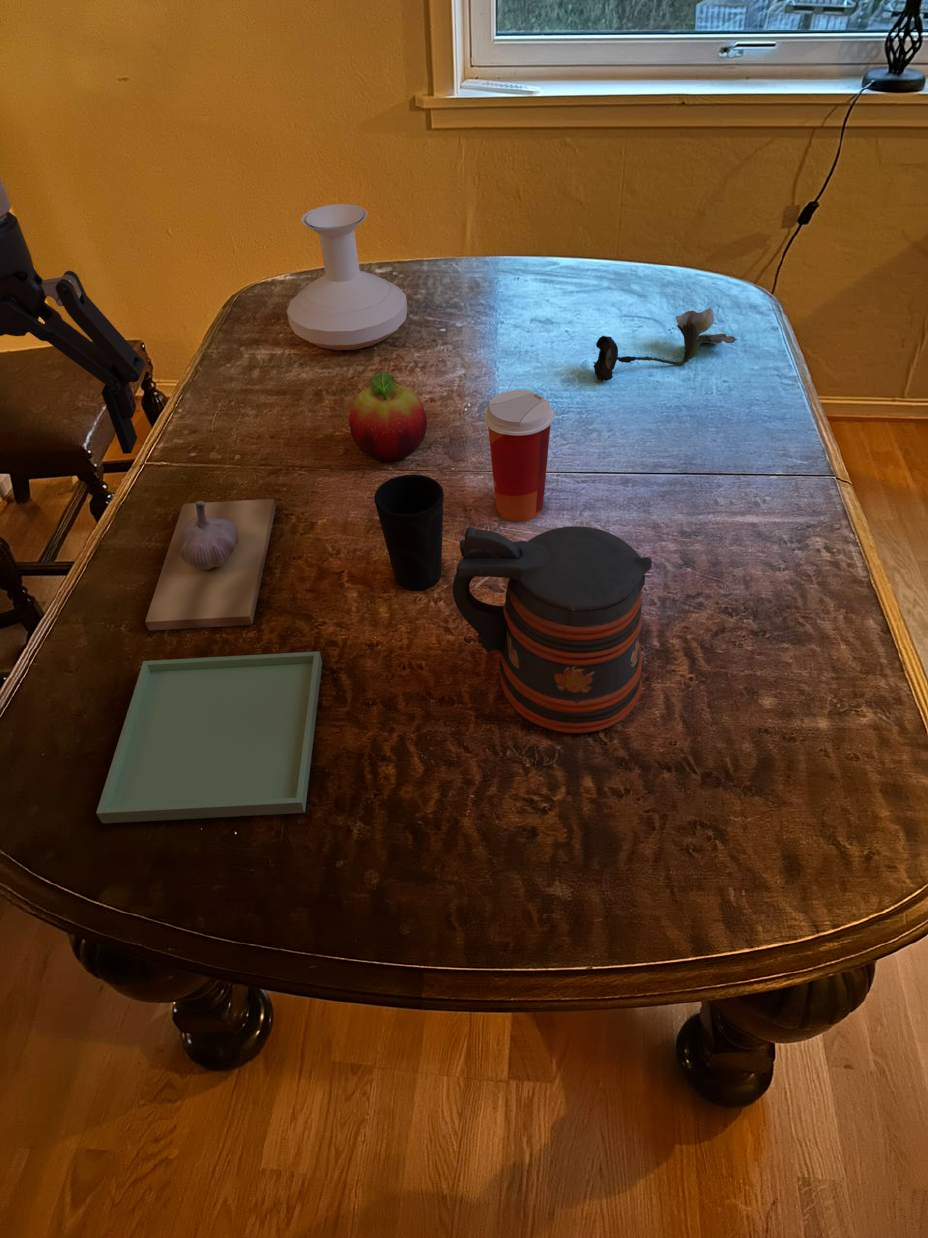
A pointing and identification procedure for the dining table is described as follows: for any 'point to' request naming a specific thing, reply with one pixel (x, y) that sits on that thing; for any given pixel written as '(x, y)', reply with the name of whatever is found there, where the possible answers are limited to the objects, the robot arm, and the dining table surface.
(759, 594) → the dining table surface
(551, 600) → the beer stein
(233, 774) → the green square tray
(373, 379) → the fruit
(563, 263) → the dining table surface
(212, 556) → the garlic bulb
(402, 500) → the cup
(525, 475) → the coffee cup
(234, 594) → the cutting board
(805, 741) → the dining table surface
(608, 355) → the artificial flower
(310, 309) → the white vase
